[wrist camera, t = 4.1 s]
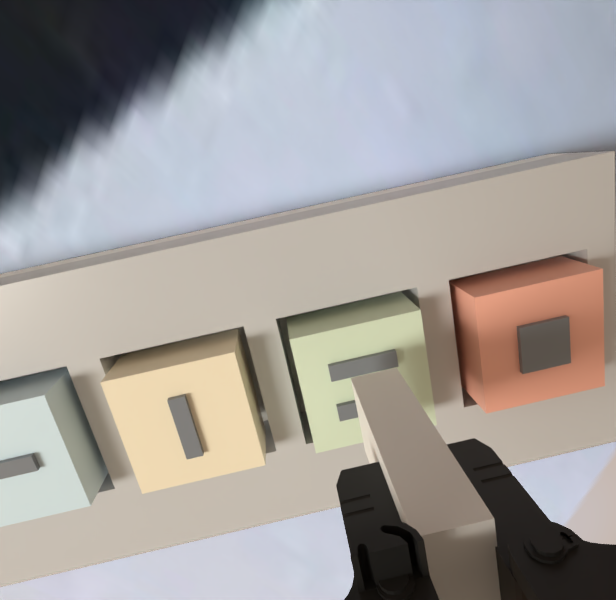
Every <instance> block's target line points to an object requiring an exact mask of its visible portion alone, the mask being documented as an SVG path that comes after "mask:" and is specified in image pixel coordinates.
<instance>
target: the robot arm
mask: <svg viewBox="0 0 616 600" xmlns="http://www.w3.org/2000/svg"><path fill="white" fill-rule="evenodd" d="M351 382H352V387H353V392H354V397H355V402H356V407H357V412H358V417H359V423H360V428H361V433H362V438H363V443H364V448H365V452H366V455H367V458H368V461H369V464H366V465H362V466H358V467H353V468H349V469H345V470H341V472H340V475H339V478H338V481H337V484H336V487H337V492H338V497H339V501H340V506H341V511H342V515H343V520H344V525H345V529H346V534H347V539H348V543H349V548H350V553H351V561H352V565H353V570H354V580H353V585H352V588H351V590H350V592H349V594H348V596H347V597H346V598H345V599H344V600H616V545H609V544H598V543H590V542H587V541H583V540H582V539H581V538H580V537H579V536H578V535H576V534H575V533H574V532H573V531H572V530H570V529H568V528H566V527H564V526H562V525H560V524H558V523H555V522H551V521H550V520H549V519H548V518H547V517H546V515H545V514H544V513H543V512H542V510H541V509H540V508H539V507H538V505H537V504H536V503H535V502H534V500H533V499H532V498H531V497H530V495H529V494H528V493H527V492H526V490H525V489H524V488H523V487H522V485H521V484H520V483H519V482H518V480H517V479H516V478H515V477H514V476H512V473H511V472H510V470H509V469H508V468H507V467H506V465H505V464H503V462H502V460H501V459H500V458H499V457H498V455H497V454H496V453H495V452H494V450H493V449H492V448H491V447H489V446H487V445H486V444H484V443H482V442H480V441H479V440H477V439H475V438H472V439H468V440H464V441H459V442H455V443H451V444H447V445H446V443H445V441H444V440H443V438H442V437H441V435H440V434H439V432H438V431H437V429H436V428H435V426H434V424H433V423H432V421H431V420H430V418H429V417H428V415H427V414H426V412H425V411H424V409H423V407H422V406H421V404H420V403H419V401H418V400H417V398H416V397H415V395H414V394H413V392H412V390H411V389H410V387H409V386H408V384H407V383H406V381H405V380H404V378H403V377H402V375H401V373H400V372H399V370H398V369H397V368H392V369H388V370H383V371H379V372H375V373H370V374H366V375H361V376H357V377H353V378H351Z"/></svg>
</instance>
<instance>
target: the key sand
mask: <svg viewBox="0 0 616 600" xmlns="http://www.w3.org/2000/svg"><path fill="white" fill-rule="evenodd" d="M100 383H101V386H102V389H103V391H104V394H105V397H106V399H107V402H108V405H109V407H110V410H111V412H112V415H113V418H114V420H115V423H116V426H117V428H118V431H119V434H120V436H121V439H122V442H123V444H124V447H125V450H126V452H127V455H128V458H129V460H130V463H131V465H132V468H133V471H134V473H135V476H136V479H137V481H138V484H139V487H140V489H141V492H142V494H144V493H149V492H153V491H157V490H161V489H166V488H170V487H174V486H179V485H183V484H187V483H191V482H196V481H200V480H204V479H209V478H213V477H217V476H221V475H226V474H230V473H234V472H239V471H243V470H247V469H251V468H256V467H260V466H264V465H266V429H265V425H264V421H263V418H262V414H261V410H260V406H259V403H258V399H257V395H256V392H255V388H254V384H253V380H252V377H251V373H250V369H249V365H248V362H247V358H246V354H245V351H244V347H243V343H242V339H241V336H240V332H239V328H238V329H233V330H229V331H224V332H220V333H215V334H211V335H206V336H202V337H198V338H193V339H189V340H184V341H180V342H175V343H171V344H166V345H162V346H158V347H153V348H149V349H144V350H140V351H135V352H131V353H126V354H122V355H121V356H120V357H119V359H118V360H117V361H116V363H115V364H114V365H113V367H112V368H111V369H110V370H109V372H108V373H107V374H106V376H105V377H104V378H103V380H102V381H101V382H100Z"/></svg>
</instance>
